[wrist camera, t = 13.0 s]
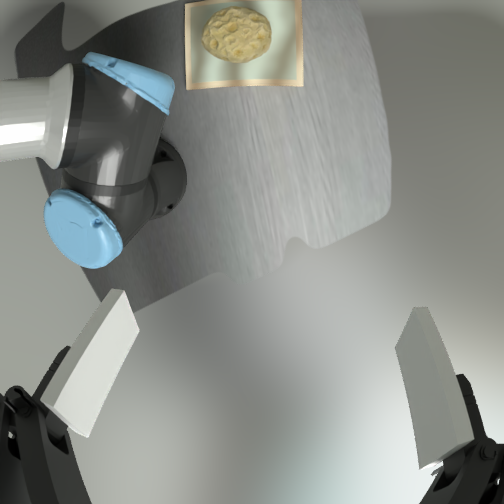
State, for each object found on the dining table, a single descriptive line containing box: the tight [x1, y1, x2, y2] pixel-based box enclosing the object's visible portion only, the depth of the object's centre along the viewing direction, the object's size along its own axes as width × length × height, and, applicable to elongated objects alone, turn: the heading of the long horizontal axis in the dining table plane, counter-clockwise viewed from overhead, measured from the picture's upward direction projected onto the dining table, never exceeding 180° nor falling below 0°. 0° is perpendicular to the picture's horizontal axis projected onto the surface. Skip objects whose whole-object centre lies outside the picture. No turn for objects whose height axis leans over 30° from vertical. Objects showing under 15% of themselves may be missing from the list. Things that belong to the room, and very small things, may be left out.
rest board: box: [185, 0, 303, 90], centre depth 33 cm, size 18×16×1 cm
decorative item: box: [201, 6, 272, 63], centre depth 30 cm, size 10×10×10 cm
